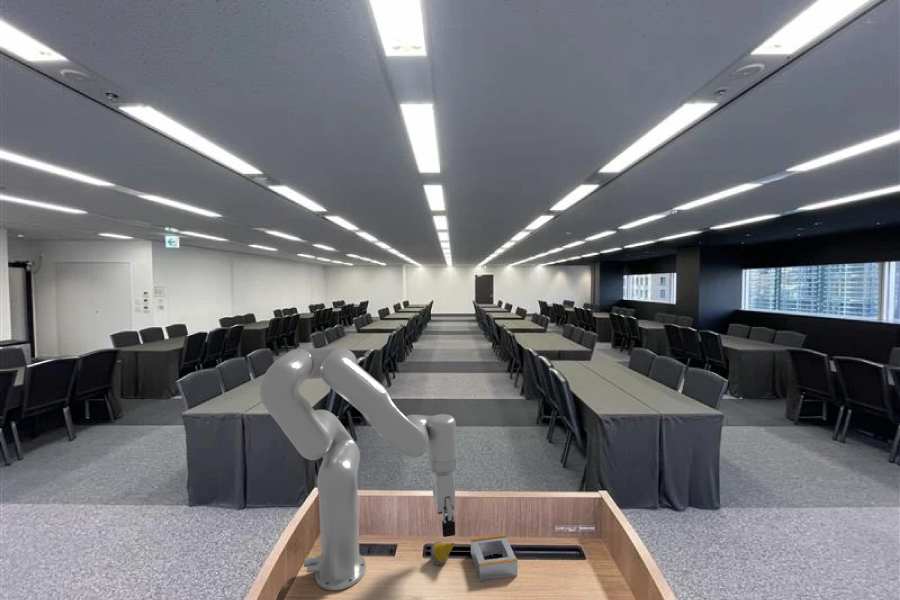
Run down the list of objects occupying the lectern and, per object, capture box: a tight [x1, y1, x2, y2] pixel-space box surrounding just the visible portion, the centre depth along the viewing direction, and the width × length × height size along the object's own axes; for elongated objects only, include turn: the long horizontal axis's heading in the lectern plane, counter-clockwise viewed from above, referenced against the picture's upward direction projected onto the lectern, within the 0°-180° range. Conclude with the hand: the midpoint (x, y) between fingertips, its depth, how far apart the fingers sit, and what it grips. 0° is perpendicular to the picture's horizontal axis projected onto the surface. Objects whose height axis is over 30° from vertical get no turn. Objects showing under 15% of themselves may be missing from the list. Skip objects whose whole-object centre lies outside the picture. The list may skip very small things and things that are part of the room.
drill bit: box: [430, 541, 455, 566], centre depth 105 cm, size 5×5×10 cm
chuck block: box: [470, 534, 518, 582], centre depth 104 cm, size 10×10×4 cm
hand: (446, 523), depth 105 cm, fingers open, 9 cm apart
